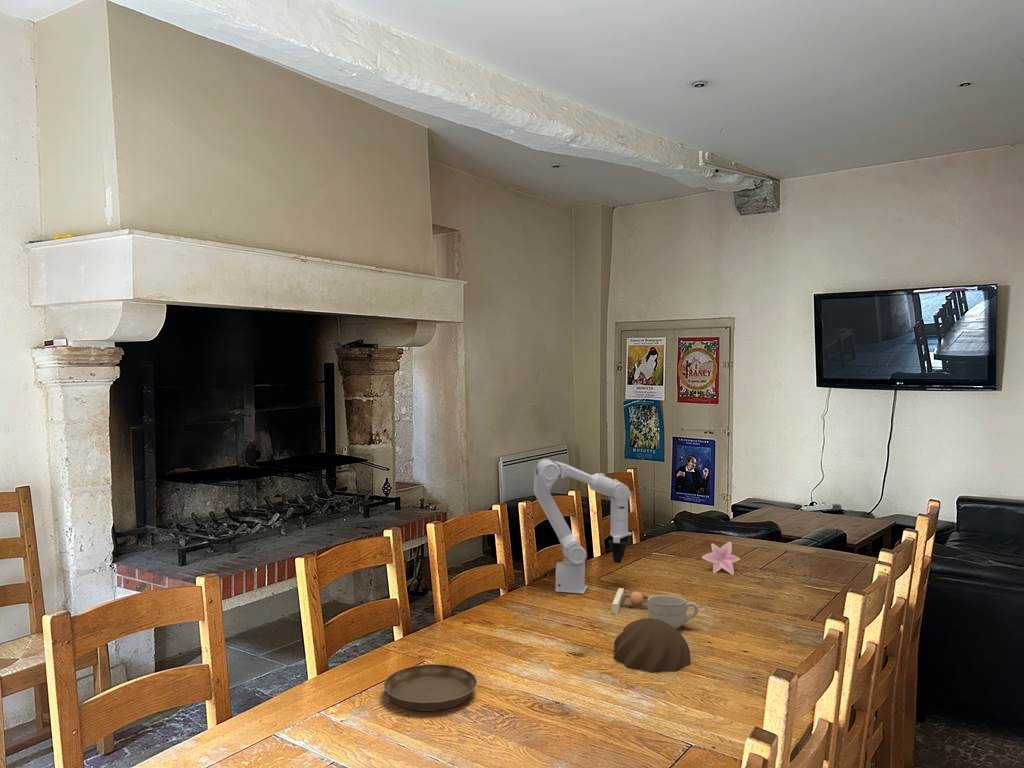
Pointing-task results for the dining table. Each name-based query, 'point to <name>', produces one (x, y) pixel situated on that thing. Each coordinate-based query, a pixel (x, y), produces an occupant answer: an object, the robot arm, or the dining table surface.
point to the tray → (627, 603)
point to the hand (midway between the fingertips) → (618, 559)
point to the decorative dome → (652, 646)
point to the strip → (617, 600)
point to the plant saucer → (430, 686)
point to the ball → (636, 598)
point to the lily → (721, 558)
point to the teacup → (670, 609)
